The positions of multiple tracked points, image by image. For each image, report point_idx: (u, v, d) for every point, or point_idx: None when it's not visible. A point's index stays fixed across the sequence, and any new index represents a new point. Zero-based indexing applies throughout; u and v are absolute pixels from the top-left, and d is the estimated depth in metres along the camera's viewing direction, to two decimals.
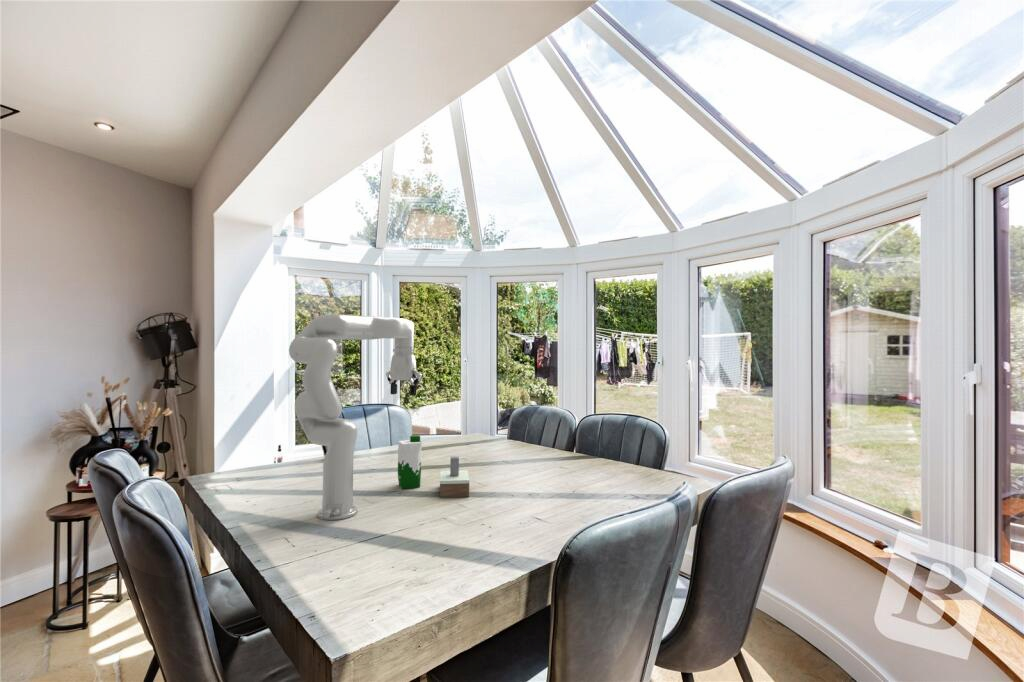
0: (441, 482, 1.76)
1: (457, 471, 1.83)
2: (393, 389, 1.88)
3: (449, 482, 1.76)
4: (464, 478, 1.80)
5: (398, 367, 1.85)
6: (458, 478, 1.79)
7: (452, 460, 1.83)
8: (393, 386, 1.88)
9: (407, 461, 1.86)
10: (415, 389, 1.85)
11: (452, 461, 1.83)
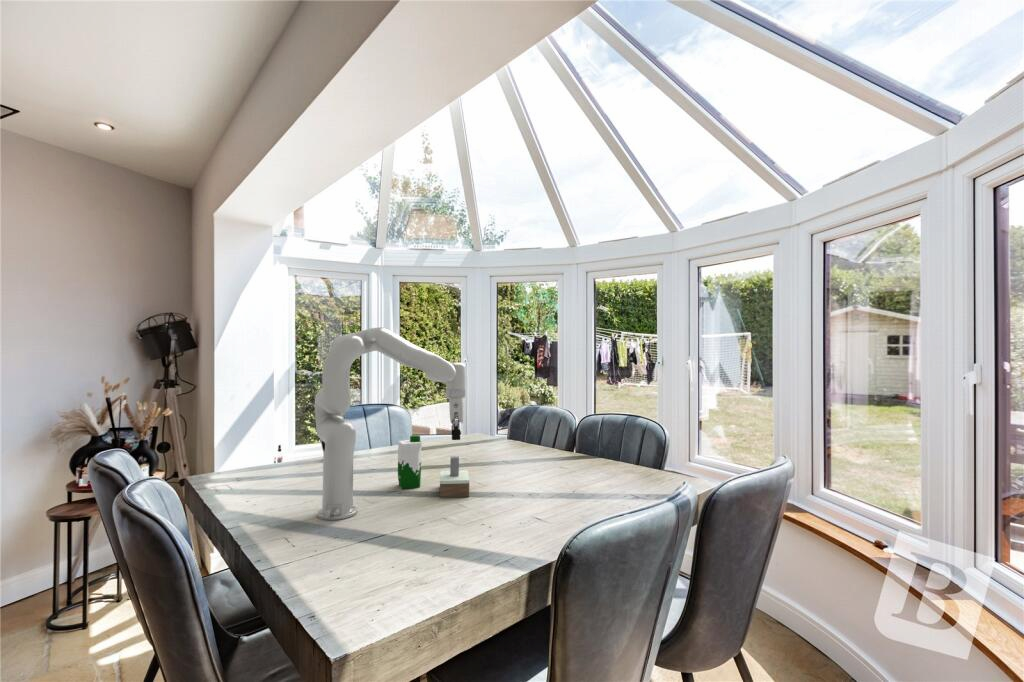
0: (441, 482, 1.76)
1: (457, 471, 1.83)
2: None
3: (449, 482, 1.76)
4: (464, 478, 1.80)
5: None
6: (458, 478, 1.79)
7: (452, 460, 1.83)
8: None
9: (407, 461, 1.86)
10: None
11: (452, 461, 1.83)
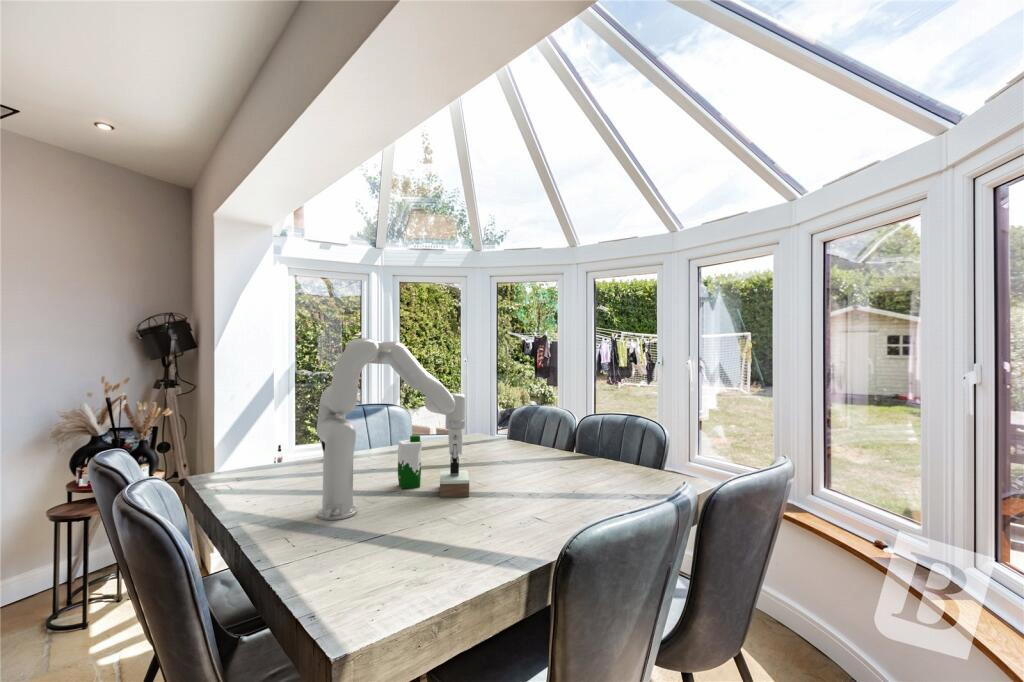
0: (441, 482, 1.76)
1: None
2: None
3: (449, 482, 1.76)
4: (464, 478, 1.80)
5: None
6: (458, 478, 1.79)
7: None
8: None
9: (407, 461, 1.86)
10: None
11: None
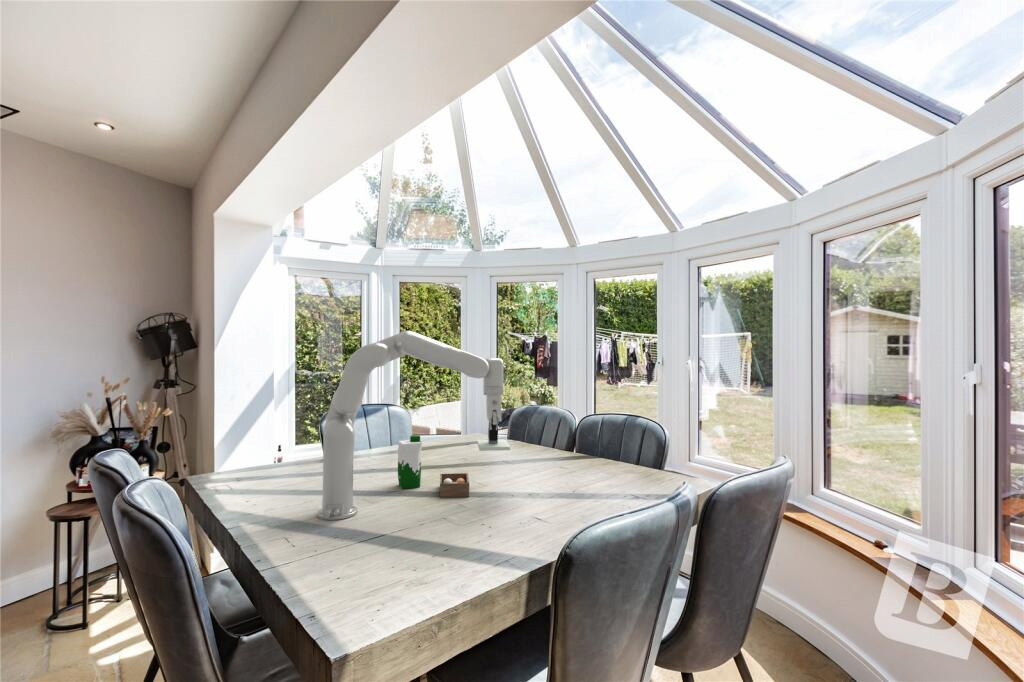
0: (481, 449, 1.69)
1: None
2: None
3: (489, 449, 1.70)
4: (504, 445, 1.73)
5: None
6: (498, 445, 1.73)
7: None
8: None
9: (407, 461, 1.86)
10: None
11: None
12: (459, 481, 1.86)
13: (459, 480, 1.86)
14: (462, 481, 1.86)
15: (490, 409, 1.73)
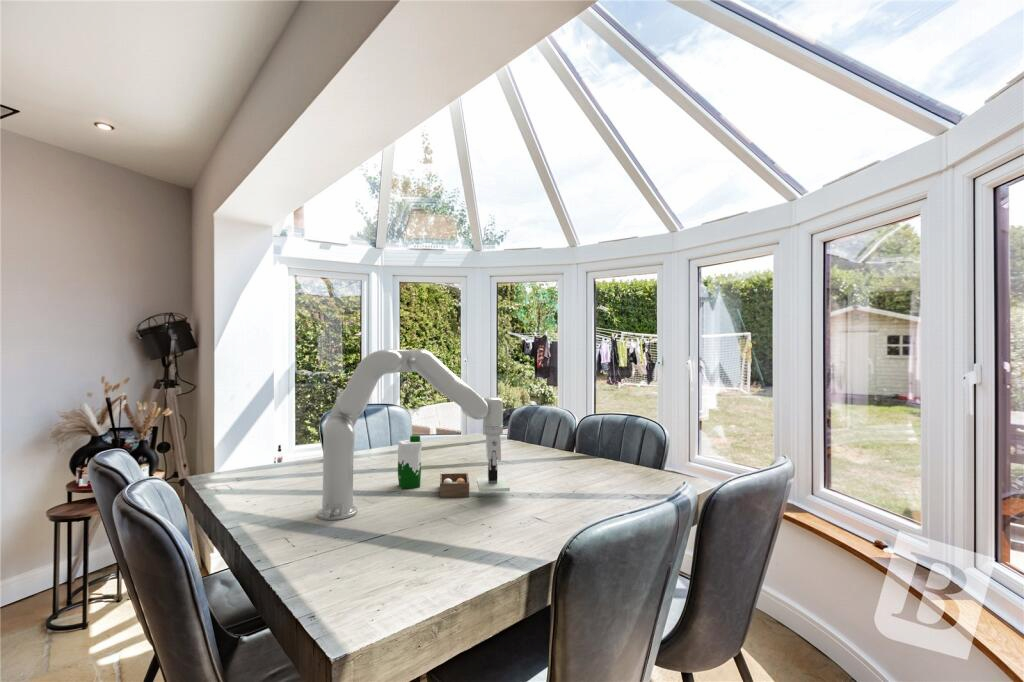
0: (481, 490, 1.69)
1: None
2: None
3: (489, 490, 1.69)
4: (504, 486, 1.73)
5: None
6: (497, 486, 1.73)
7: None
8: None
9: (407, 461, 1.86)
10: None
11: None
12: (459, 481, 1.86)
13: (459, 480, 1.86)
14: (462, 481, 1.86)
15: (490, 450, 1.72)
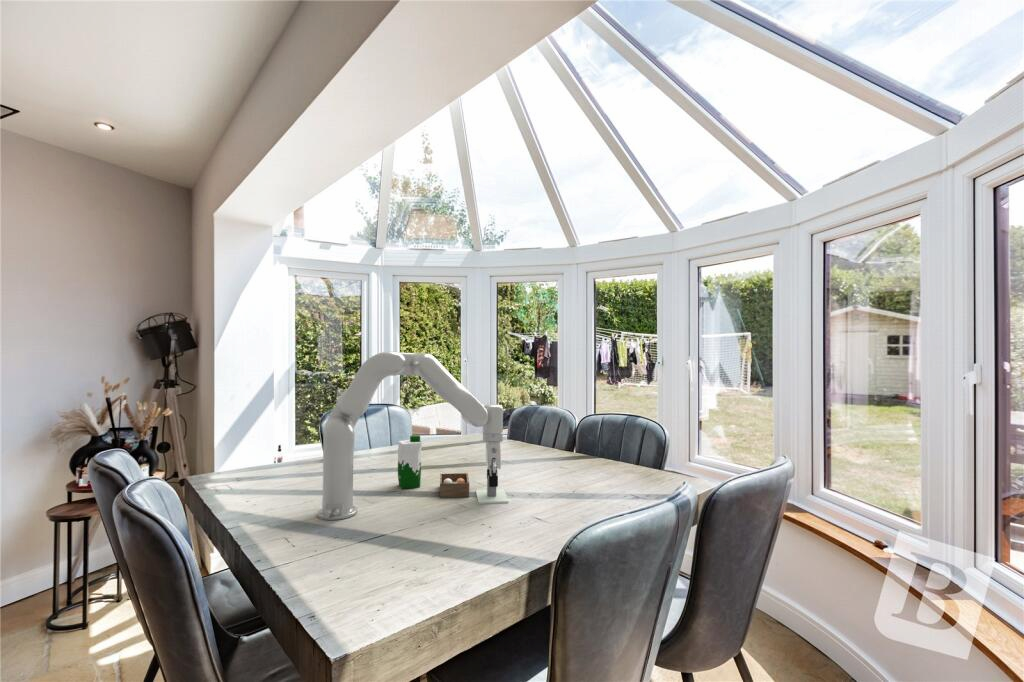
0: (479, 503, 1.69)
1: (495, 491, 1.76)
2: None
3: (488, 503, 1.69)
4: (502, 499, 1.72)
5: None
6: (496, 499, 1.72)
7: None
8: None
9: (407, 461, 1.86)
10: None
11: None
12: (459, 481, 1.86)
13: (459, 480, 1.86)
14: (462, 481, 1.86)
15: (489, 457, 1.72)
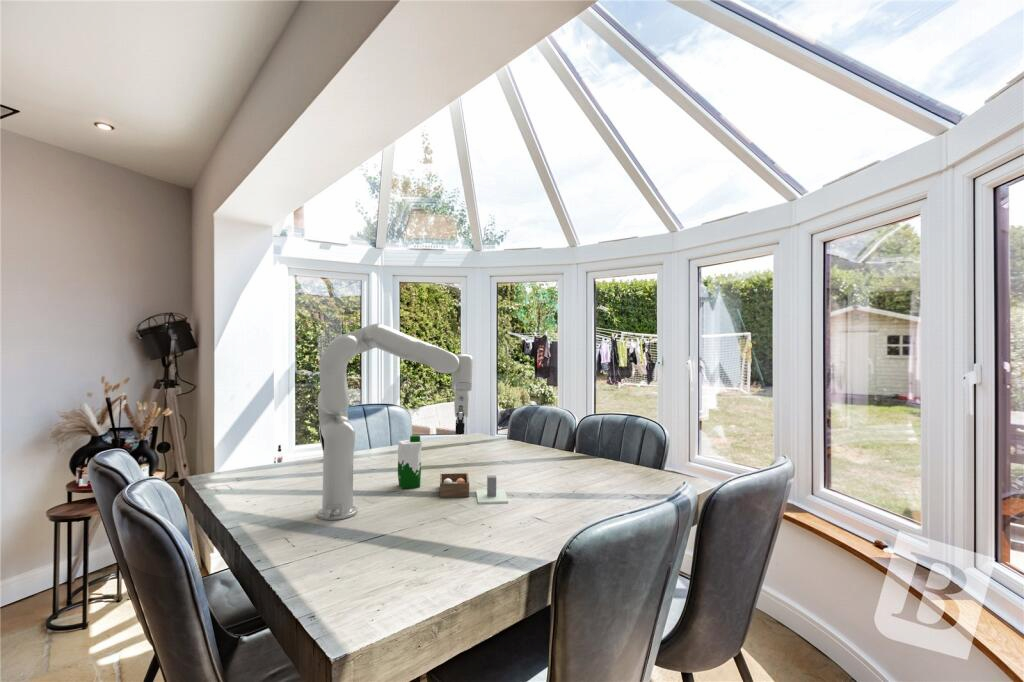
0: (479, 503, 1.69)
1: (494, 491, 1.76)
2: None
3: (487, 503, 1.69)
4: (502, 499, 1.72)
5: None
6: (496, 499, 1.72)
7: (489, 480, 1.75)
8: None
9: (407, 461, 1.86)
10: None
11: (489, 481, 1.75)
12: (459, 481, 1.86)
13: (459, 480, 1.86)
14: (462, 481, 1.86)
15: (457, 404, 1.74)
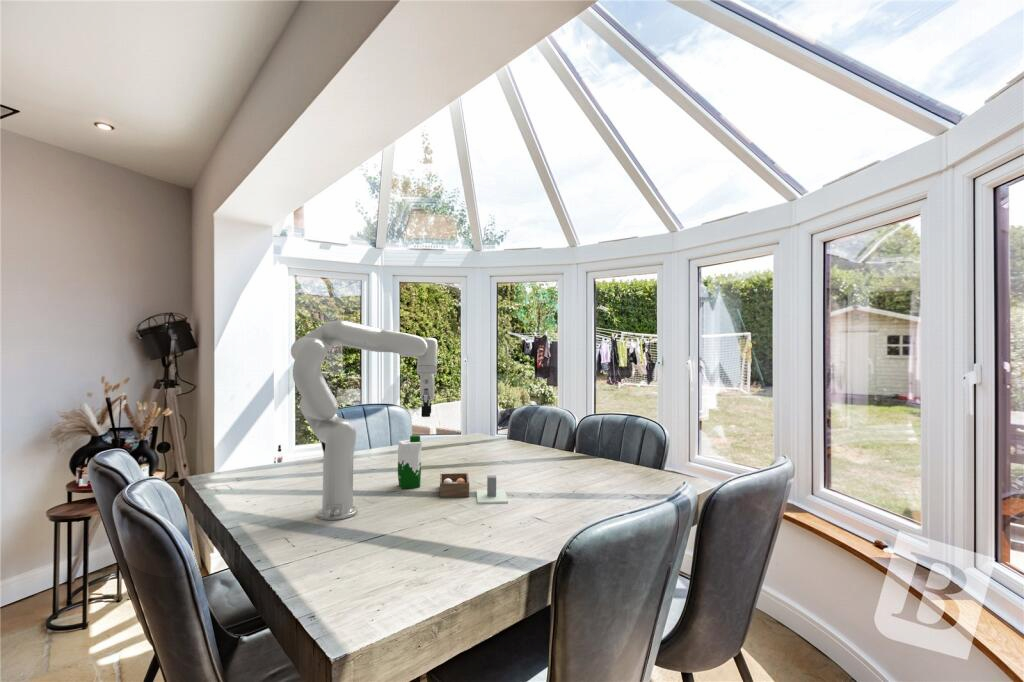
0: (479, 503, 1.69)
1: (494, 491, 1.75)
2: None
3: (487, 503, 1.69)
4: (502, 499, 1.72)
5: None
6: (496, 499, 1.72)
7: (489, 480, 1.75)
8: None
9: (407, 461, 1.86)
10: None
11: (489, 481, 1.75)
12: (459, 481, 1.86)
13: (459, 480, 1.86)
14: (462, 481, 1.86)
15: (422, 388, 1.75)
